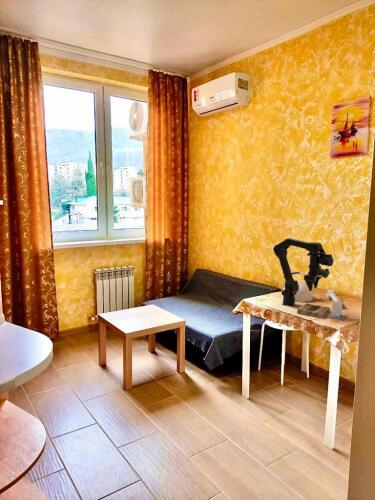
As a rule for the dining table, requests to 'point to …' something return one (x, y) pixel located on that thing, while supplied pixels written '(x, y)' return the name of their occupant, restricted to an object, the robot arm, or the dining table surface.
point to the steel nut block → (337, 309)
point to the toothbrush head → (333, 297)
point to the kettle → (302, 291)
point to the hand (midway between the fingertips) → (313, 289)
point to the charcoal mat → (336, 317)
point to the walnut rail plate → (307, 311)
